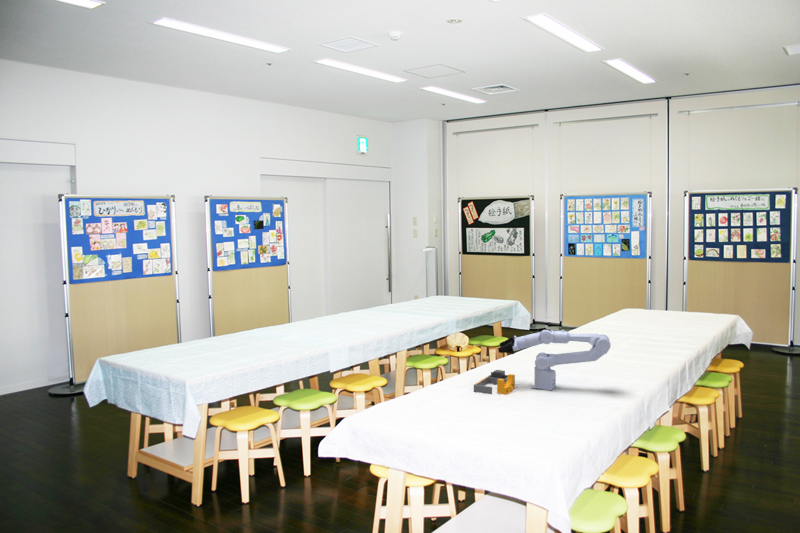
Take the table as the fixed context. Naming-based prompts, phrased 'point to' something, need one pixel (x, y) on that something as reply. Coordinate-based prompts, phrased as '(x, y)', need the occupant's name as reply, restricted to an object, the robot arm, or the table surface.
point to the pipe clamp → (506, 385)
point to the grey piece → (490, 381)
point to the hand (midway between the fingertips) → (499, 348)
